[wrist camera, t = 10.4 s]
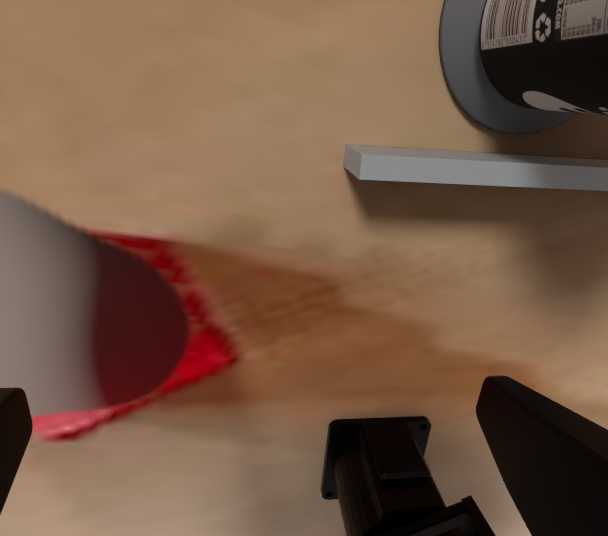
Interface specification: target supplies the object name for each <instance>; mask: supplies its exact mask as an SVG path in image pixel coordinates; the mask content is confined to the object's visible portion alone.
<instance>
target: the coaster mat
mask: <svg viewBox="0 0 608 536" xmlns="http://www.w3.org/2000/svg"><path fill="white" fill-rule="evenodd" d="M485 1H486V0H444V3H443V8H442V12H441V18H440V26H439V52H440V61H441V65H442V70H443V74H444V77H445V80H446V82H447V85H448V87H449V89H450V91H451V93H452V95H453V97H454V99H455V100H456V101H457V103H458V104H459V105H460V107H461V108H462V109H463V110H464V111H465V112H466V113H467V114H468V115H469V116H470V117H472V118H473V119H474V120H476V121H477V122H479V123H480V124H482V125H485V126H487V127H489V128H492V129H495V130H498V131H502V132H509V133H533V132H539V131H543V130H546V129H549V128H552V127H555V126H557V125H559V124H561V123H563V122H565V121H567V120H569V119H570V118H572V117H574V116H575V115H577V114H578V113H575V112H563V111H550V110H538V109H528V108H524V107H520V106H518V105H515V104H513V103H511V102H510V101H508V100H507V99H505V98H504V97H503V96H501V95H500V94H499V93H498V92H497V91H496V89H495V88H494V87H493V86H492V84H491V83H490V81H489V79H488V77H487V75H486V73H485V70H484V68H483V65H482V61H481V56H480V50H479V28H480V21H481V15H482V11H483V8H484V4H485Z"/></svg>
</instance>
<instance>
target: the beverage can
mask: <svg viewBox="0 0 608 536" xmlns="http://www.w3.org/2000/svg"><path fill="white" fill-rule="evenodd" d="M479 50H480V56H481V61H482V65H483V68H484V70H485V73H486V75H487V77H488V79H489V81H490V83H491V84H492V86H493V87H494V88H495V89H496V91H497V92H498V93H499V94H500V95H501V96H503V97H504V98H505V99H507V100H508V101H510V102H511V103H513V104H515V105H518V106H520V107H524V108H528V109H538V110H550V111H563V112H575V113H587V114H599V115H608V0H486V1H485V4H484V8H483V11H482V15H481V21H480V28H479Z"/></svg>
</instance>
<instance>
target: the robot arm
mask: <svg viewBox="0 0 608 536" xmlns="http://www.w3.org/2000/svg"><path fill="white" fill-rule="evenodd" d="M476 415H477V418H478V421H479V424H480V426H481V428H482V431H483V433H484V436H485V438H486V440H487V443H488V445H489V448H490V450H491V452H492V455H493V457H494V460H495V462H496V464H497V467H498V469H499V472H500V474H501V476H502V479H503V481H504V483H505V485H506V487H507V489H508V491H509V493H510V495H511V497H512V499H513V501H514V503H515V505H516V507H517V509H518V511H519V513H520V514H521V516H522V518H523V520H524V522H525V524H526V526H527V528H528V529H529V531H530V533H531V535H532V536H608V430H607V429H605V428H603V427H601V426H600V425H598V424H596V423H594V422H592V421H590V420H588V419H586V418H585V417H583V416H581V415H579V414H577V413H575V412H573V411H572V410H570V409H568V408H566V407H564V406H562V405H560V404H558V403H557V402H555V401H553V400H551V399H549V398H547V397H545V396H543V395H542V394H540V393H538V392H536V391H534V390H532V389H530V388H528V387H527V386H525V385H523V384H521V383H519V382H517V381H515V380H514V379H512V378H510V377H508V376H488V377H486V378H485V380H484V382H483V385H482V388H481V392H480V395H479V398H478V402H477V405H476ZM422 424H423V425H422ZM338 427H339V428H338ZM335 428H338V429H335ZM430 428H431V424H430V422H429V420H428V418H426V417H424V416H418V417H392V418H366V419H339V420H334V421H332V422H331V423H330V424H329V427H328V435H327V444H326V452H325V460H324V468H323V477H322V485H321V493H322V497H323V498H324V499H327V500H330V499H338V500H339V504H340V509H341V513H342V518H343V522H344V527H345V531H346V536H495V534H494V533H493V531H492V529H491V528H490V526H489V524H488V523H487V521H486V519H485V518H484V516H483V515H482V513H481V511H480V510H479V508H478V506H477V505H476V503H475V501H474V500H473V498H472V497H471V496H468V497H466V498H463V499H461V500H462V501H461V502H459V503H456V504H453V505H451V506H448V507H446V505H445V503H444V501H443V499H442V497H441V495H440V493H439V491H438V488H437V486H436V484H435V482H434V480H433V478H432V476H431V473H430V470H429V468H428V466H427V464H426V462H425V460H424V453H425V449H426V445H427V441H428V436H429V432H430ZM31 433H32V419H31V414H30V410H29V406H28V402H27V398H26V394H25V392H24V391H23V389H21V388H0V514H1V512H2V509H3V507H4V504H5V502H6V499H7V497H8V494H9V491H10V489H11V486H12V484H13V481H14V478H15V476H16V473H17V471H18V468H19V466H20V463H21V460H22V458H23V455H24V453H25V450H26V447H27V445H28V442H29V440H30V437H31Z"/></svg>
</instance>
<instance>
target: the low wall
mask: <svg viewBox="0 0 608 536" xmlns="http://www.w3.org/2000/svg"><path fill="white" fill-rule="evenodd" d="M343 167H345V168H346V169H347V170H348V171H349V172H351V173H352V174H353V175H354V176H355V177H357V178H358V179H359V180H380V181H402V182H423V183H445V184H466V185H488V186H509V187H531V188H552V189H574V190H595V191H608V160H600V159H583V158H566V157H549V156H532V155H515V154H498V153H481V152H464V151H447V150H430V149H413V148H396V147H379V146H362V145H346V147H345V157H344V166H343Z"/></svg>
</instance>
